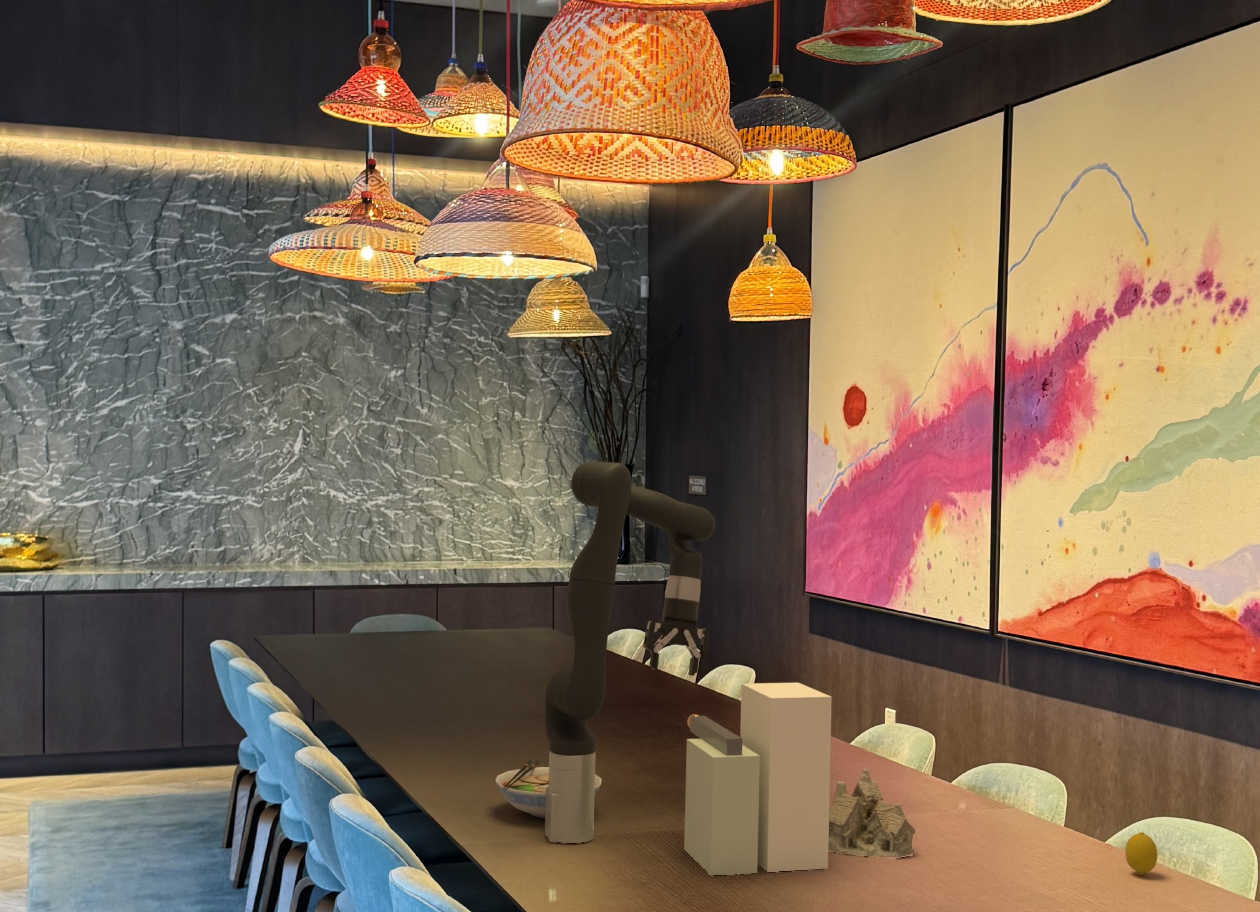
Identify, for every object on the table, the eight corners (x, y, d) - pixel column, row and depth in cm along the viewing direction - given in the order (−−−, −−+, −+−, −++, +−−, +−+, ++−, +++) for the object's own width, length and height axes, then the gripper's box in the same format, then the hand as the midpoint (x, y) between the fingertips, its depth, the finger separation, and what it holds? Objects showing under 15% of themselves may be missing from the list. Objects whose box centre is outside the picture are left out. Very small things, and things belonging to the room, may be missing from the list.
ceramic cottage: (809, 841, 248) (815, 766, 248) (878, 836, 255) (884, 764, 254) (851, 869, 234) (858, 790, 234) (923, 864, 240) (930, 787, 240)
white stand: (767, 873, 228) (771, 698, 228) (737, 847, 243) (741, 683, 244) (827, 869, 231) (831, 696, 231) (794, 844, 246) (798, 682, 247)
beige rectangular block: (710, 876, 225) (713, 757, 225) (684, 850, 240) (686, 739, 241) (757, 873, 227) (759, 755, 227) (728, 848, 243) (730, 737, 243)
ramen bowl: (586, 834, 249) (587, 794, 249) (477, 825, 254) (478, 785, 254) (613, 803, 274) (614, 766, 274) (513, 795, 278) (514, 759, 279)
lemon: (1148, 870, 235) (1149, 828, 235) (1162, 880, 229) (1163, 836, 229) (1120, 870, 234) (1120, 827, 235) (1132, 879, 229) (1133, 836, 229)
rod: (726, 755, 227) (727, 739, 227) (687, 729, 250) (687, 714, 250) (742, 755, 228) (742, 738, 228) (701, 728, 251) (701, 713, 251)
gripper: (656, 593, 266) (646, 669, 263) (718, 602, 269) (709, 678, 267) (646, 594, 273) (636, 668, 270) (707, 603, 277) (698, 676, 274)
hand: (672, 673), depth 269 cm, fingers open, 8 cm apart
